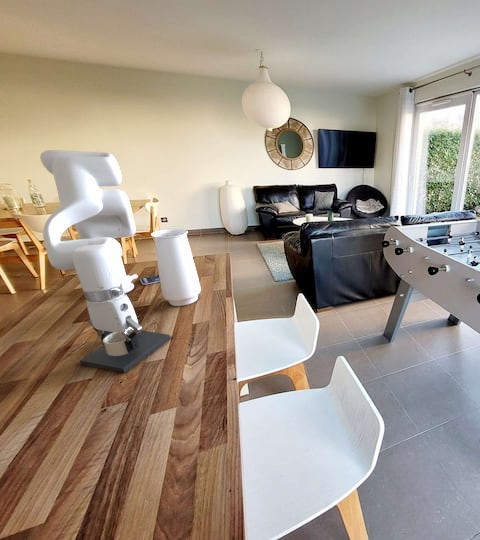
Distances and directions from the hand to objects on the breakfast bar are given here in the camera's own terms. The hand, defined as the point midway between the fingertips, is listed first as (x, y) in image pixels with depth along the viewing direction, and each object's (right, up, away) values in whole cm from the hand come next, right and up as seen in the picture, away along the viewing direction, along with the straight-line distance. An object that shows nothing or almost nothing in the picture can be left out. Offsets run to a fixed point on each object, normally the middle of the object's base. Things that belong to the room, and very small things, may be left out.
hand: (122, 347), depth 81 cm
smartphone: (-24, +18, +51) cm, 59 cm away
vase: (-3, +10, +34) cm, 35 cm away
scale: (-2, -2, +4) cm, 5 cm away
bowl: (0, -1, 0) cm, 1 cm away
